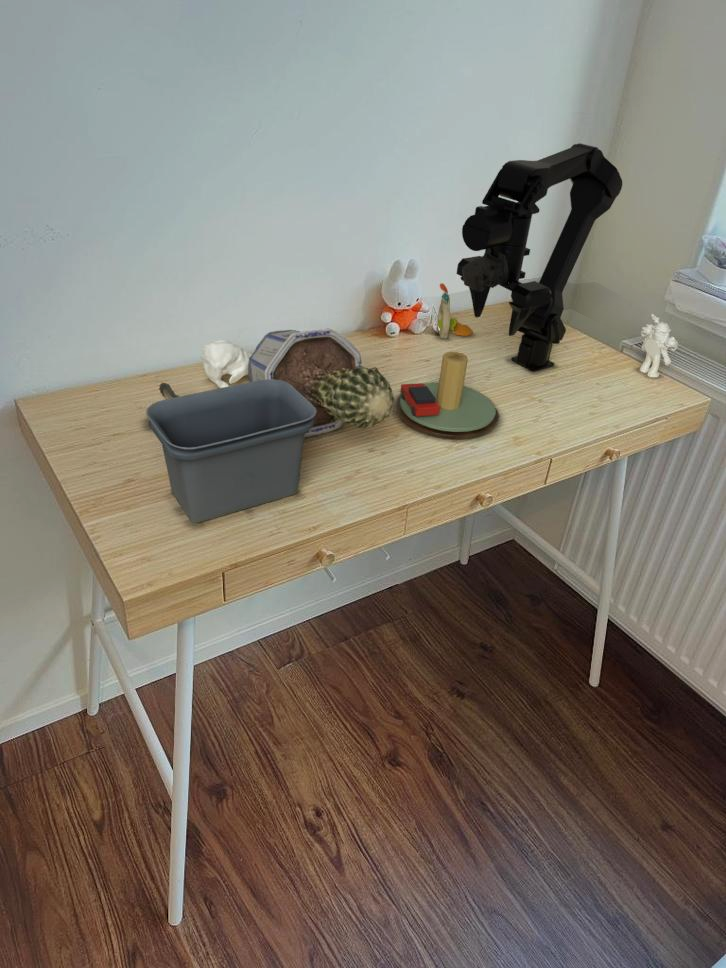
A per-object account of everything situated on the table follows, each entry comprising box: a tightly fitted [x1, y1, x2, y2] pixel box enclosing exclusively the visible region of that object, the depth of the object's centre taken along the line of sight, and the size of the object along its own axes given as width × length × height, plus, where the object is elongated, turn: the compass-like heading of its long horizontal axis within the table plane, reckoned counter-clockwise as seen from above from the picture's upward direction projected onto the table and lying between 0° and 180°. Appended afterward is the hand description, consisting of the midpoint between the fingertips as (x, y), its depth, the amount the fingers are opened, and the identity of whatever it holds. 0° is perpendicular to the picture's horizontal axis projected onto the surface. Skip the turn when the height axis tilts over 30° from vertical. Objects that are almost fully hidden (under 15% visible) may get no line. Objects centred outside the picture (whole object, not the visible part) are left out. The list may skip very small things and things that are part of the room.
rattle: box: [436, 282, 474, 340], centre depth 163 cm, size 8×8×12 cm
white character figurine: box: [639, 313, 679, 378], centre depth 155 cm, size 9×4×12 cm, turn 24°
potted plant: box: [247, 327, 396, 438], centre depth 123 cm, size 18×18×30 cm
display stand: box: [395, 394, 500, 441], centre depth 138 cm, size 18×18×1 cm
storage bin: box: [145, 379, 316, 523], centre depth 109 cm, size 21×16×14 cm
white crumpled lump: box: [200, 339, 253, 389], centre depth 139 cm, size 6×8×12 cm
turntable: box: [399, 351, 497, 432], centre depth 134 cm, size 17×17×10 cm
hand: (494, 326), depth 142 cm, fingers open, 9 cm apart
